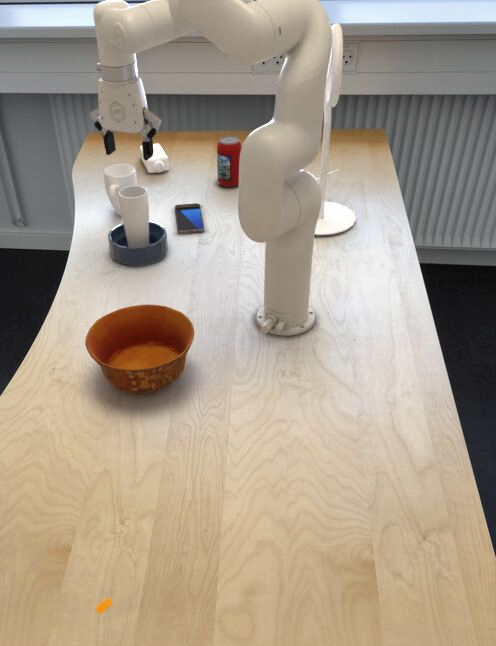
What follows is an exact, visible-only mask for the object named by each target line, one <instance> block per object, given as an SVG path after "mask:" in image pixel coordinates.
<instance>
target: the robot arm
mask: <svg viewBox="0 0 496 646" xmlns="http://www.w3.org/2000/svg"><path fill="white" fill-rule="evenodd" d="M92 13H93V14H92V15H93V21H94V29H95V36H96V45H97V50H98V59H99V63H96V65H95V68H96V71H99V72H100V76H101V77H100V78H99V79H98V89H97V90H98V91H97V92H98V93H97V99H98V100H97V101H98V108H96V109H94V110H92V111H90V113H89V116H90V118H91V121H92V122H93V123H94V127H95V128H96V129H97V130H98V131H99V134H100V136H101V137H102V138H103V145H104V149H105V154H106V155H107V156H110V155H112V154H113V153H114V152H116V150H117V148H116V141H115V134H114V132H117V133H124V134H125V133H127V134H139V135H140V137H141V138H142V140H143V141H142V142H141V146H142V148H143V157H144V160H148V159H149V158H151V157H152V156H153V153H154V150H153V144H154V142H153V141H154V140H153V138H155V136H156V135H157V134H158V132H159V131H160V127H161V125H162V119H161V118H160V117H159V116H157V115H156V114H155V113H153V112H152V111H150V110H149V108H148V102H147V97H146V92H145V88H144V83H143V81H142V78H141V77H140V76H139V72H138V63H137V54H138V53H141V52H144V51H147V50H149V49H152V48H154V47H157V46H161V45H163V44H166V43H169V42H172V41H174V40H176V39H179V38H181V37H183V36H186V35H188V34H195V33H199V34H200V35H201V36H203V37H204V38H205V39H207V40H208V41H209V42H211V44H213V45H214V46H215V47H217V49H219V50H220V51H221V52H223V53H224V54H226V55H227V56H228V57H229V58H230V59H232V60H233V61H235V62H237V63H238V64H242V65H246V66H255V65H258V64H262V63H264V62H266V61H268V60H270V59H274V58H275V57H279V56H281V55H283V54H285V59H284V63H283V65H282V67H281V69H280V73H279V75H278V77H277V82H276V87H275V100H274V101H275V102H274V110H273V115H272V119H271V120H269V122H268V123H265V124H263V125H261V126H259V127H258V128H256V129H254V130H253V131H251V132H250V133H249V135H247V137H246V138H245V140H244V141H243V144H242V149H241V152H240V159H239V184H238V190H237V191H238V192H237V213H238V220H239V224H240V227H241V229H242V232H243V233H244V234H245V236H246V237H247V238H248V239H249V240H251V241H253V242H255V243H260V244H265V245H264V246H265V247H264V281H263V283H264V287H263V288H264V289H263V305H261V307H259V309H258V310H257V312H256V315H255V317H256V319H255V320H256V323H257V325H258V326H259V327H260V328H259V331H260V333H261V334H263V335H267V334H271V335H276V336H283V337H286V336H288V337H289V336H290V337H291V336H296V335H300V334H304V333H305V332H307V331H308V330H310V329H311V328H312V327H313V326H314V324H315V322H316V313H315V311H314V309H313V308H312V307H311V306H310V292H311V281H312V279H311V278H312V267H313V266H312V265H313V255H314V244H315V243H314V242H315V236H316V235H315V229H316V224H317V220H318V217H319V213H320V208H321V202H322V194H321V188H320V185H319V184H320V182H319V180H317V179H318V178H316V177H315V175H314V174H312V173H310V172H309V171H307V170H304V169H306V168H307V167H308V166H310V165H311V164H313V163H314V161H316V159H317V157H318V155H319V151H320V147H321V142H322V133H323V132H322V131H323V124H324V104H325V91H326V83H327V77H328V72H329V66H330V60H331V53H332V30H331V26H332V25H331V22H330V18H329V15H328V13H327V11H326V9H325V7H324V6H323V4H322V2H320V0H149V1H145V2H142V3H139V4H136V5H132V6H131V5H130V4H129V3H128V2H126V1H125V0H104V1H100V2H98V3H96V4H95V6H94V8H93V12H92ZM150 123H151V124H152V125H151V127H150V126H149V124H150Z"/></svg>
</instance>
